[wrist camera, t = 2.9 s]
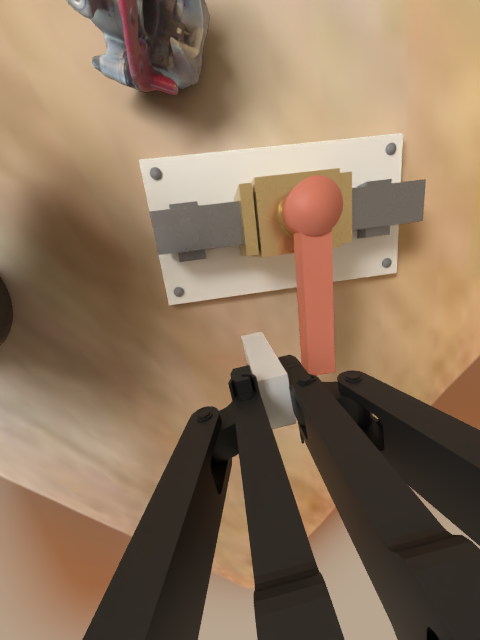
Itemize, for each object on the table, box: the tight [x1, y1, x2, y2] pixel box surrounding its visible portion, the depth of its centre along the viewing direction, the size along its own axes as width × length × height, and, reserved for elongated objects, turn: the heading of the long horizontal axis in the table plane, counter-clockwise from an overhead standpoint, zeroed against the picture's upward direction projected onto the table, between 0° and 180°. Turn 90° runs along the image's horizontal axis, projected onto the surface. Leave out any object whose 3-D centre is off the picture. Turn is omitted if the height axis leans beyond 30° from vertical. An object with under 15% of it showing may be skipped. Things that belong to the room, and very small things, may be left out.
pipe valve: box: [150, 168, 426, 262], centre depth 26 cm, size 28×7×9 cm, turn 97°
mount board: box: [139, 133, 403, 305], centre depth 30 cm, size 30×16×1 cm, turn 97°
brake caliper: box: [66, 0, 210, 95], centre depth 21 cm, size 11×11×12 cm
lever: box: [281, 175, 343, 375], centre depth 22 cm, size 17×4×2 cm, turn 7°
